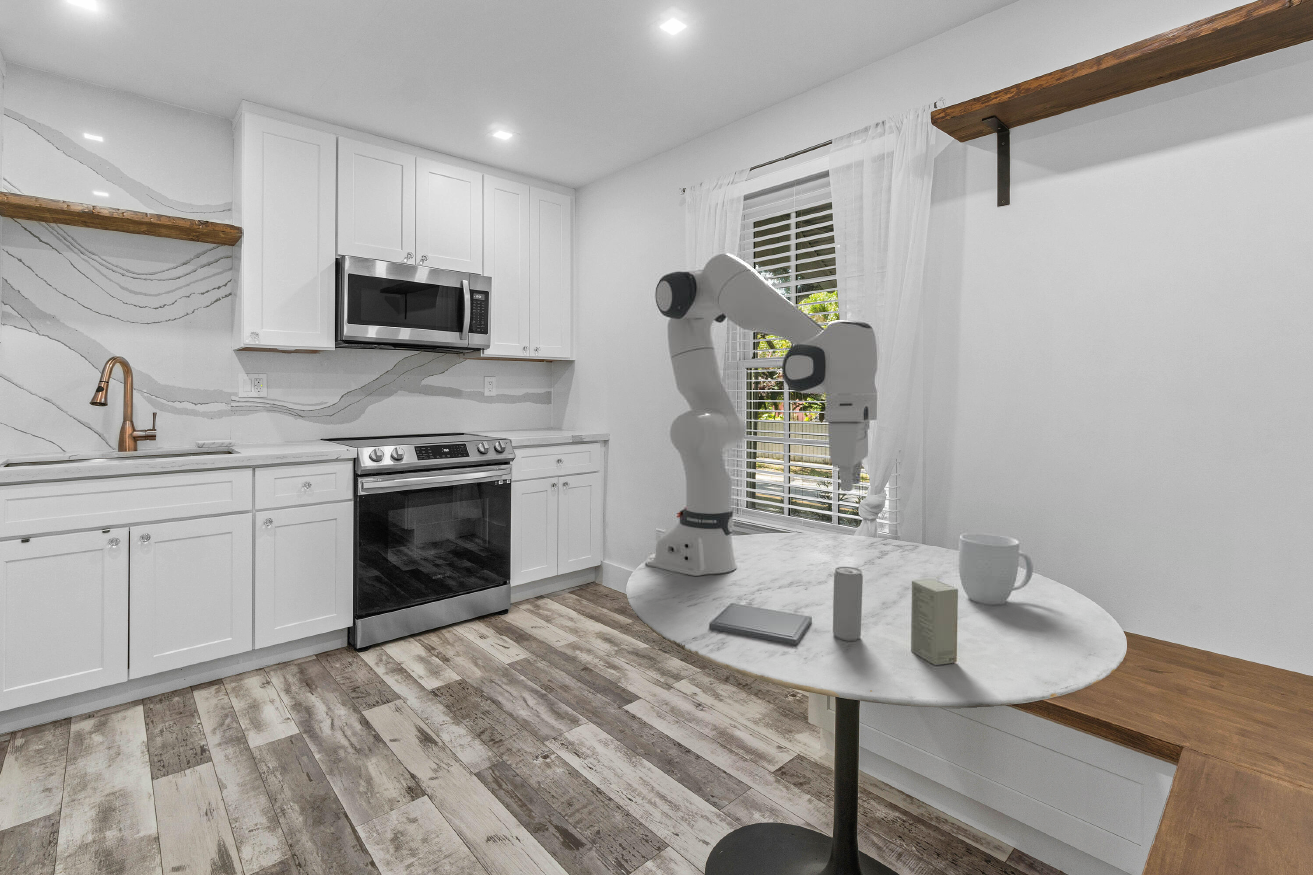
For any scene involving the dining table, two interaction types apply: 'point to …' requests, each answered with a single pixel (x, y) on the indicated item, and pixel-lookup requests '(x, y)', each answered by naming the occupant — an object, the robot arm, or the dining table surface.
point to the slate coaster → (762, 623)
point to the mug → (990, 567)
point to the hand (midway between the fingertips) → (851, 487)
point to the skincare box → (934, 621)
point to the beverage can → (847, 603)
